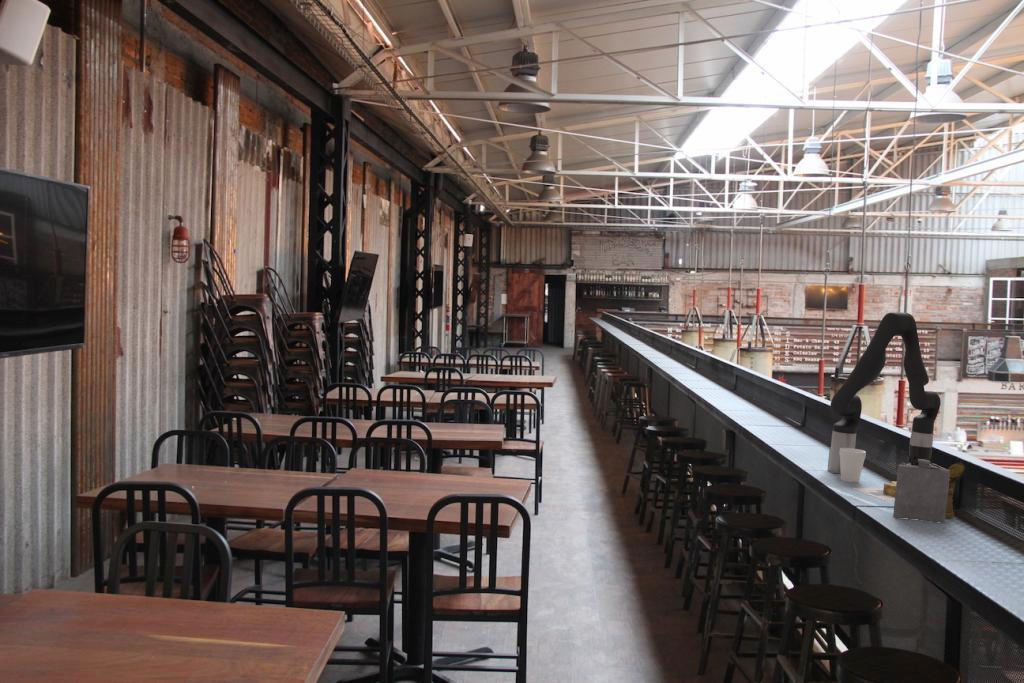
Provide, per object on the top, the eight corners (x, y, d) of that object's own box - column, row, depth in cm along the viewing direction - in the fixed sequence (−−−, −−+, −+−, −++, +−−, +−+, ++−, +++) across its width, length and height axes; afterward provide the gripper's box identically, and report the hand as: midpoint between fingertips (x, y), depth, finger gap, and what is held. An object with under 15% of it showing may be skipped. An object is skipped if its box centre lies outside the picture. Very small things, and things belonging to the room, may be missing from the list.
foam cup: (862, 482, 316) (866, 450, 315) (862, 486, 308) (865, 453, 307) (837, 478, 320) (840, 446, 319) (836, 482, 311) (839, 450, 311)
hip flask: (894, 518, 263) (900, 458, 261) (891, 514, 267) (896, 456, 265) (946, 523, 260) (952, 463, 259) (941, 520, 264) (948, 461, 263)
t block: (877, 490, 298) (878, 481, 298) (897, 490, 301) (898, 481, 300) (896, 497, 288) (897, 488, 288) (917, 497, 291) (918, 488, 291)
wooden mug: (968, 517, 271) (974, 465, 270) (941, 519, 265) (946, 466, 264) (945, 510, 279) (950, 459, 278) (918, 511, 274) (923, 460, 272)
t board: (850, 490, 300) (851, 487, 300) (890, 490, 305) (890, 487, 304) (884, 503, 282) (885, 500, 282) (926, 503, 287) (926, 500, 287)
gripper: (927, 442, 301) (923, 487, 302) (898, 442, 297) (894, 487, 299) (943, 446, 294) (938, 492, 295) (914, 446, 290) (909, 492, 291)
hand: (916, 490), depth 297 cm, fingers closed
